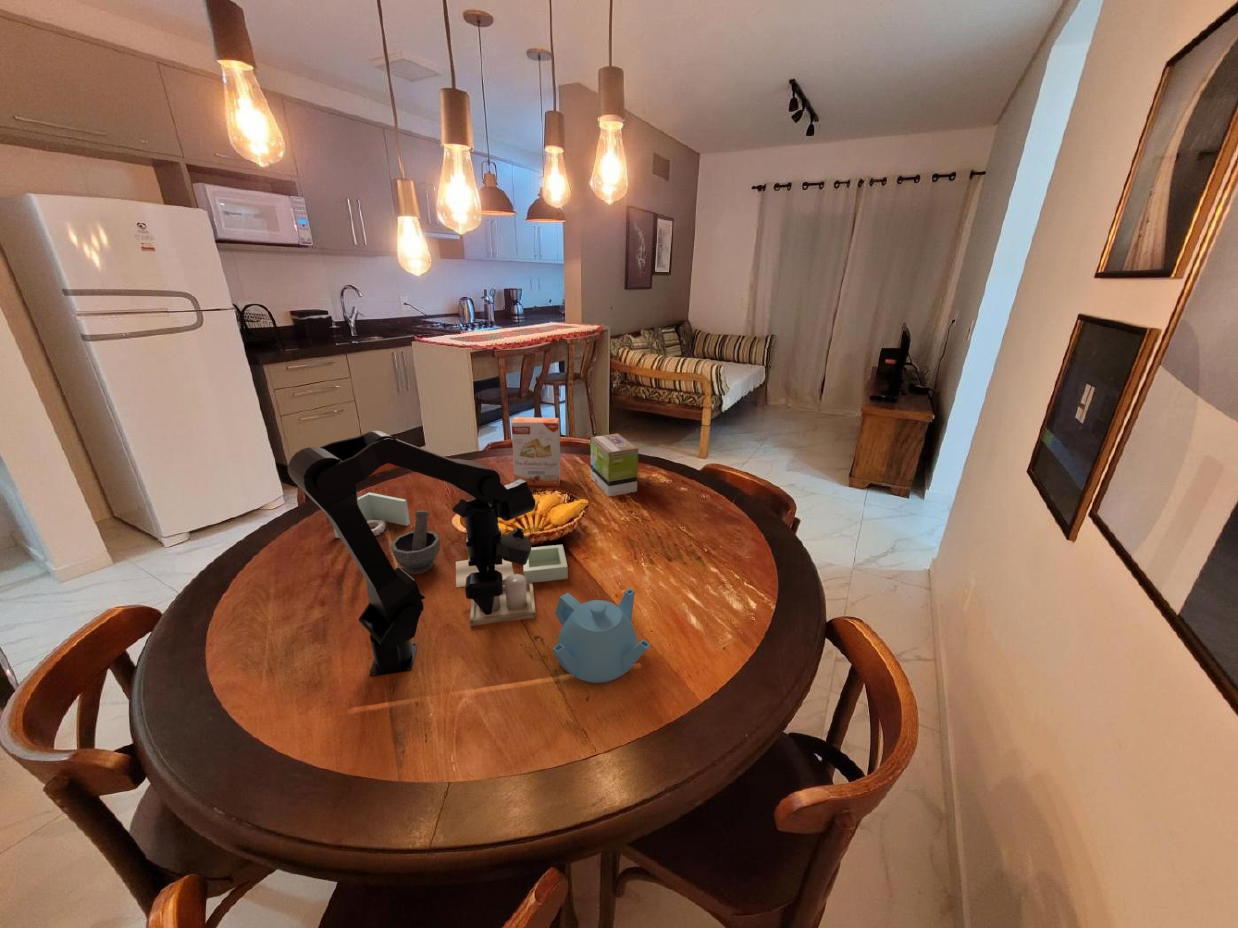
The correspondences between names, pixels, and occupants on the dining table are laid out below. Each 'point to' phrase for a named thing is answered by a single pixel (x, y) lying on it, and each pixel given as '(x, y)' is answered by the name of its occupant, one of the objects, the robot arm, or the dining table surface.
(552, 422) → the cracker box
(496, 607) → the grey rounded piece
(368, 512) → the right angle wall
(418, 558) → the mortar and pestle
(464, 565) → the tray lid
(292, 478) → the robot arm
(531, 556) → the sage bin
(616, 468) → the tea box
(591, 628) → the teapot
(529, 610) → the birch tray
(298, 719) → the dining table surface
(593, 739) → the dining table surface
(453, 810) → the dining table surface
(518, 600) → the pale pebble
